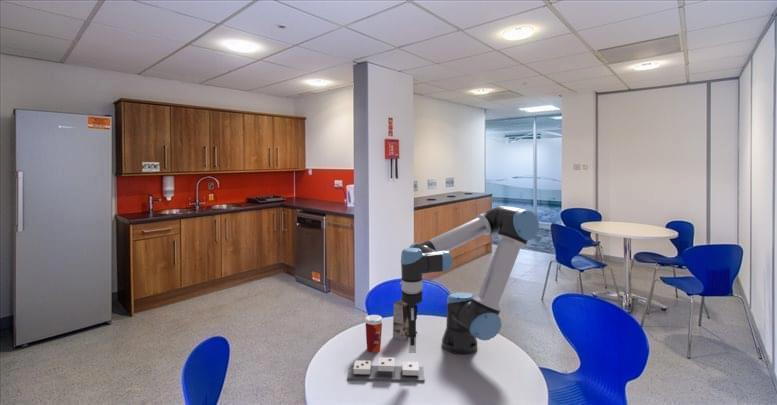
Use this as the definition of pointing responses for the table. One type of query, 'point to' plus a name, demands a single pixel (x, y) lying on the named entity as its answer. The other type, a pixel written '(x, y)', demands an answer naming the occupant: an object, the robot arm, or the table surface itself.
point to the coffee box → (400, 320)
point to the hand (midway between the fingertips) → (412, 352)
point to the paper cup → (373, 333)
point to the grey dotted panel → (386, 375)
